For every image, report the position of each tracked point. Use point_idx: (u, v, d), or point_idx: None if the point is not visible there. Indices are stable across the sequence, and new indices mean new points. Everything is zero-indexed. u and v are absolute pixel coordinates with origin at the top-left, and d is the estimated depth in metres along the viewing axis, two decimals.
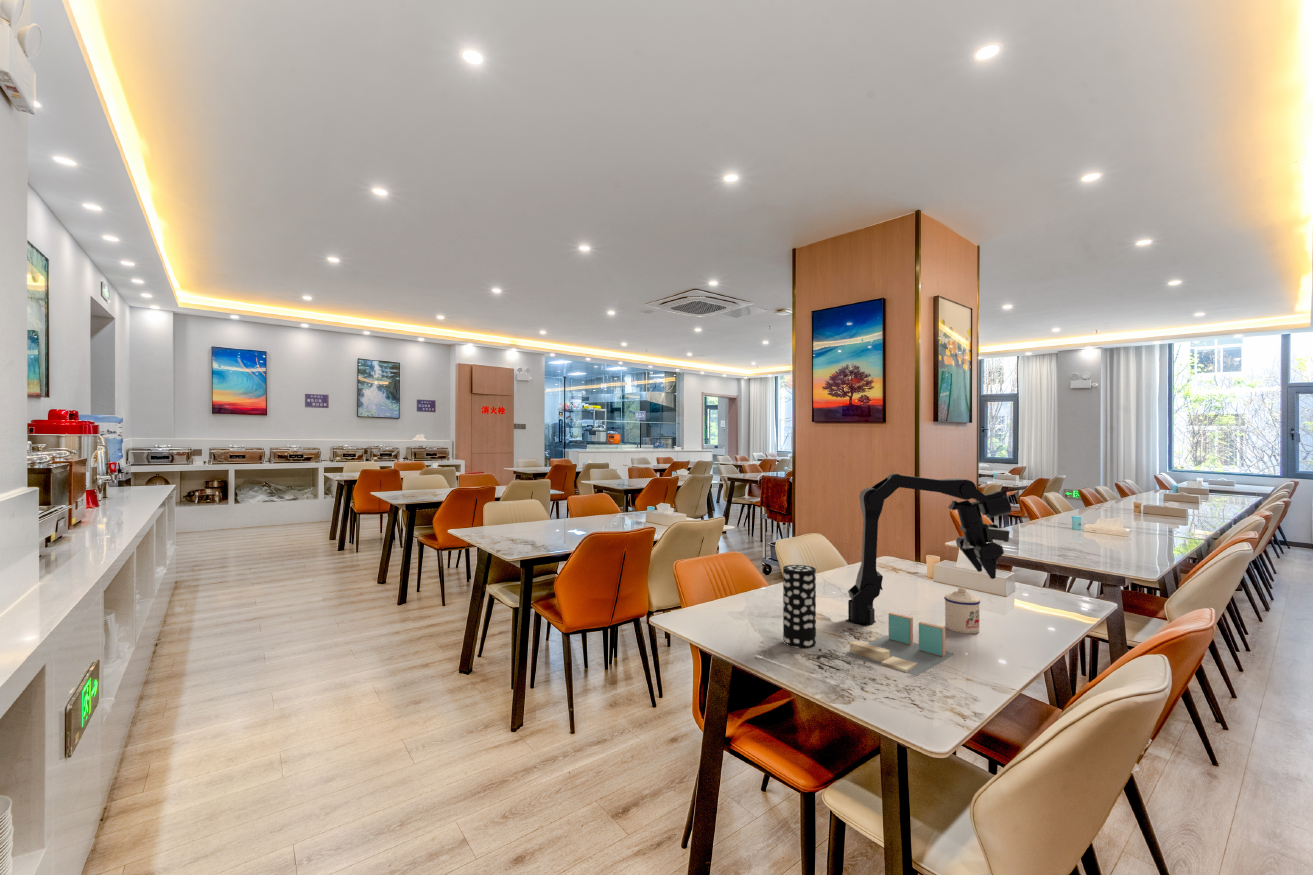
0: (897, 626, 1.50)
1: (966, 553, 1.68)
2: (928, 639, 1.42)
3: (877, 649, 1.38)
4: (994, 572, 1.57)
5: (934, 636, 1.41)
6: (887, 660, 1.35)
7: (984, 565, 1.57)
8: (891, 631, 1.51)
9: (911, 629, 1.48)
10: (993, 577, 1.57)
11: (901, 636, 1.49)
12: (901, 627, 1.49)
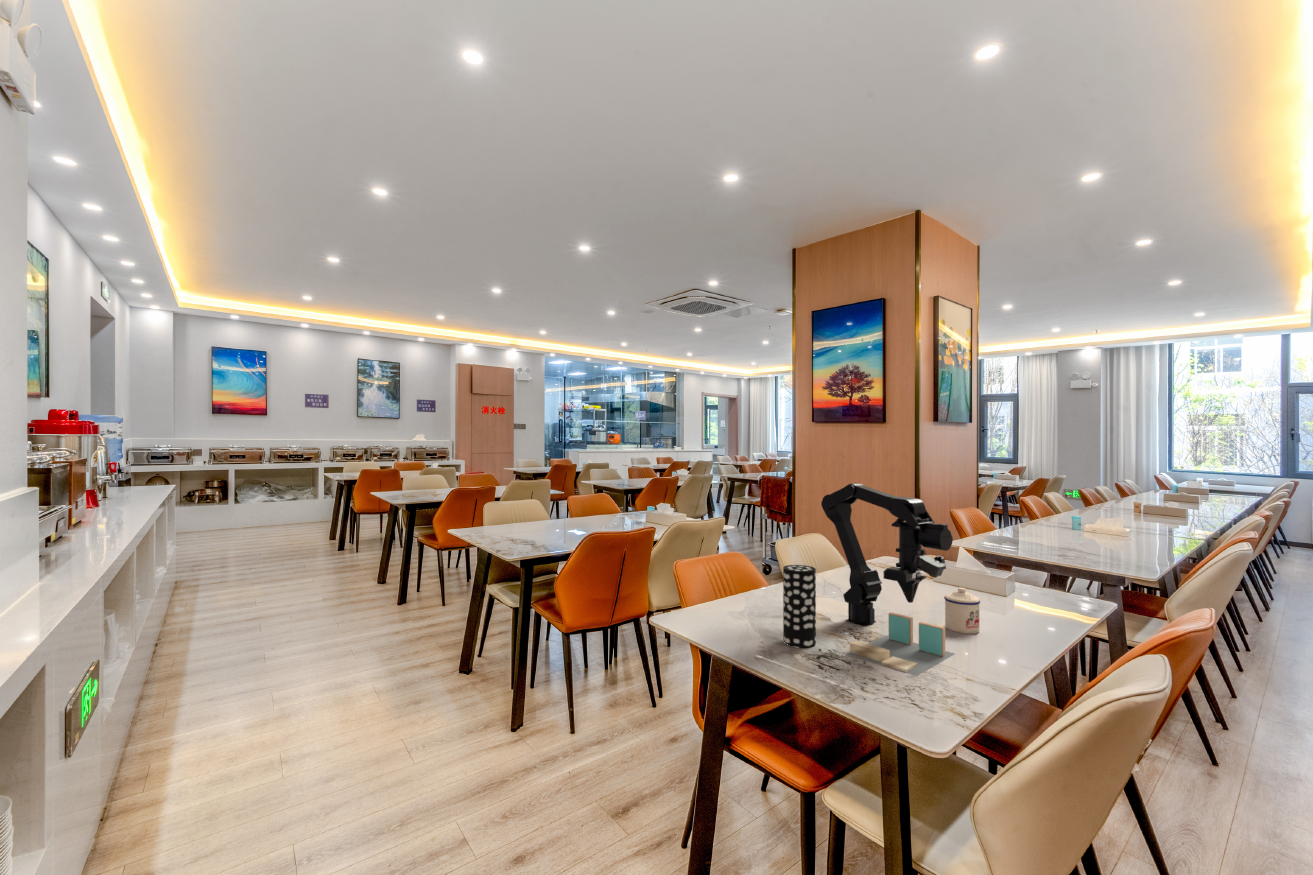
0: (897, 626, 1.50)
1: None
2: (928, 639, 1.42)
3: (877, 649, 1.38)
4: (910, 596, 1.53)
5: (934, 636, 1.41)
6: (887, 660, 1.35)
7: (900, 585, 1.54)
8: (891, 631, 1.51)
9: (911, 629, 1.48)
10: (909, 601, 1.54)
11: (901, 636, 1.49)
12: (901, 627, 1.49)
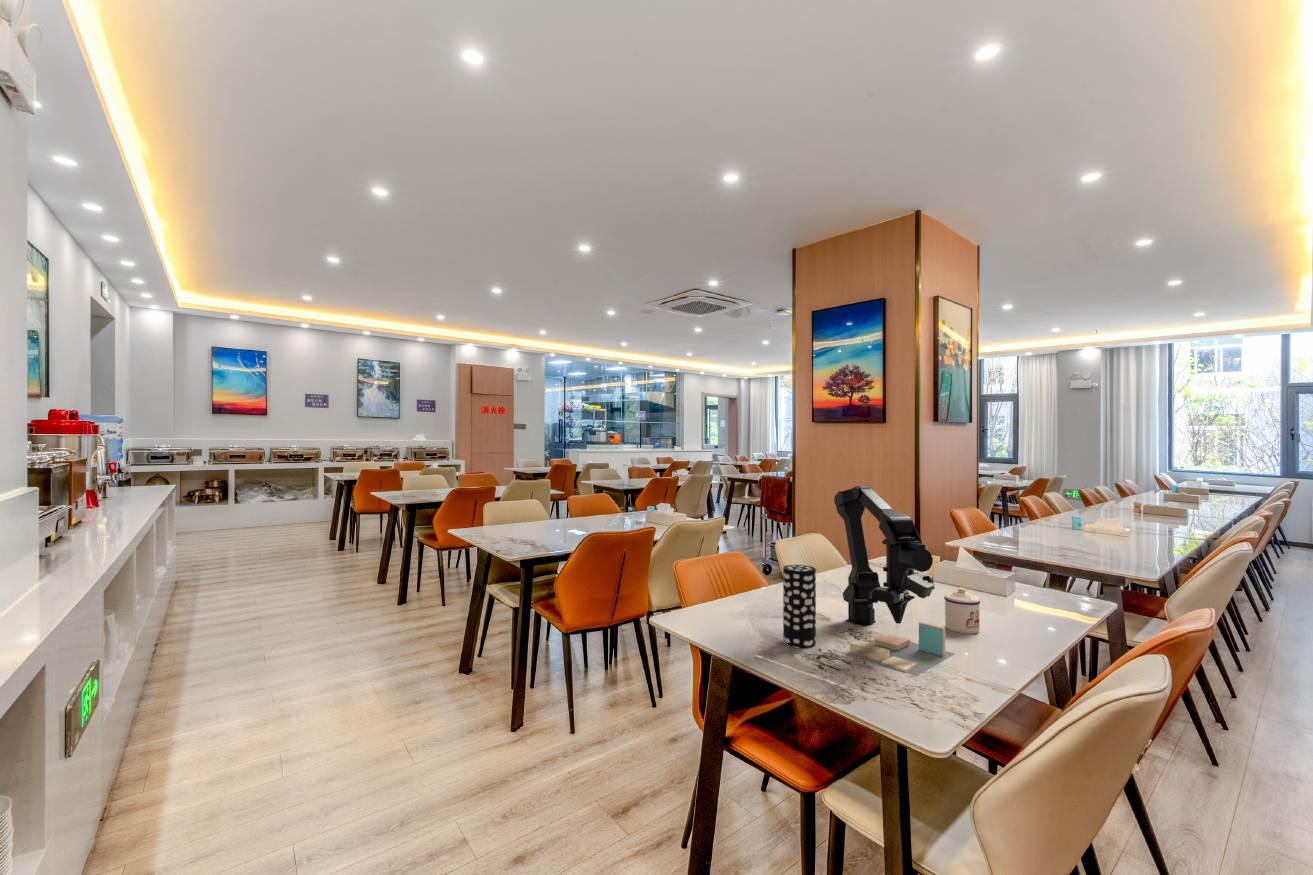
0: None
1: None
2: (928, 639, 1.42)
3: (877, 649, 1.38)
4: (898, 617, 1.48)
5: (934, 636, 1.41)
6: (887, 660, 1.35)
7: (888, 606, 1.50)
8: None
9: (902, 645, 1.45)
10: (897, 622, 1.49)
11: None
12: None
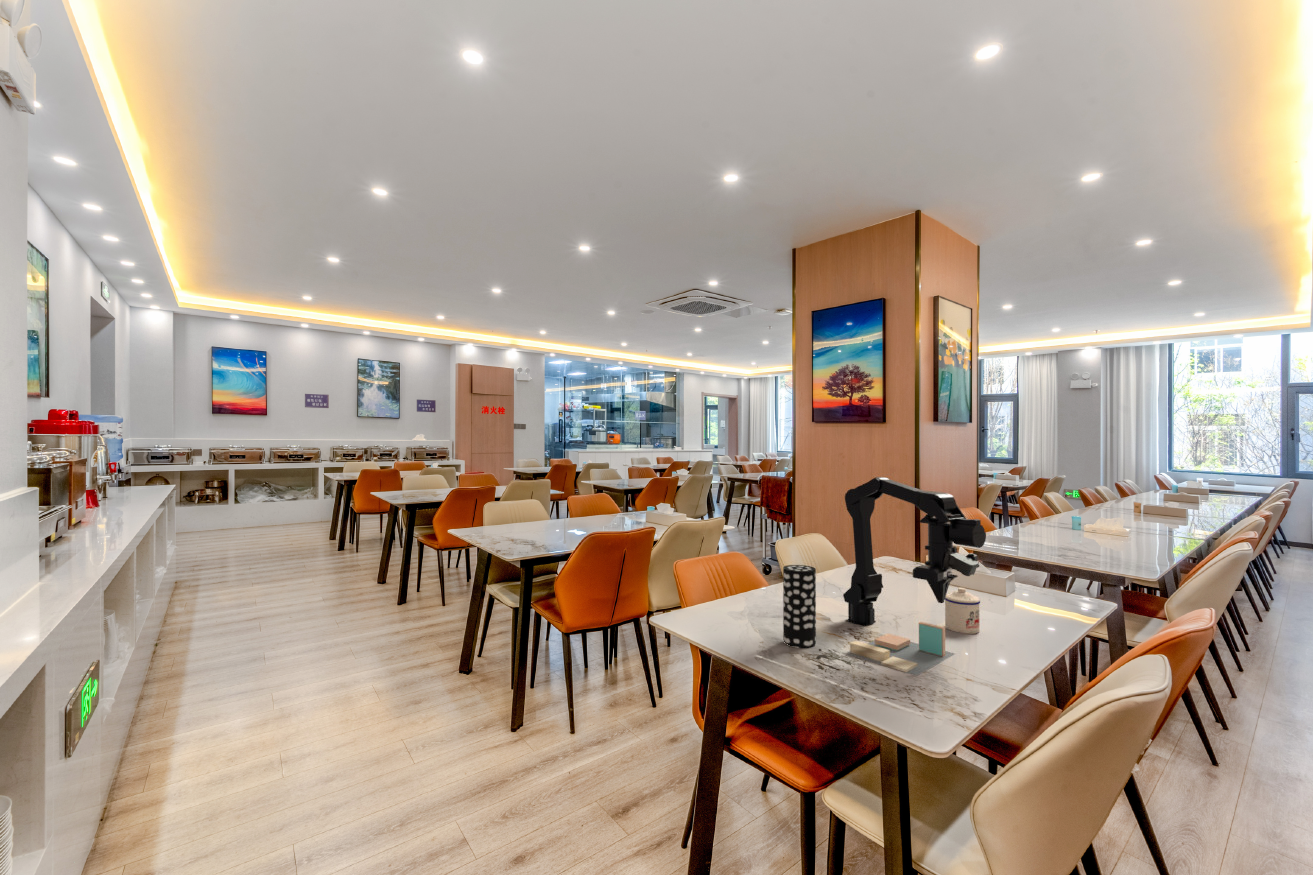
0: None
1: None
2: (928, 639, 1.42)
3: (877, 649, 1.38)
4: (941, 596, 1.45)
5: (934, 636, 1.41)
6: (887, 660, 1.35)
7: (930, 585, 1.46)
8: None
9: (902, 645, 1.45)
10: (940, 601, 1.46)
11: None
12: None
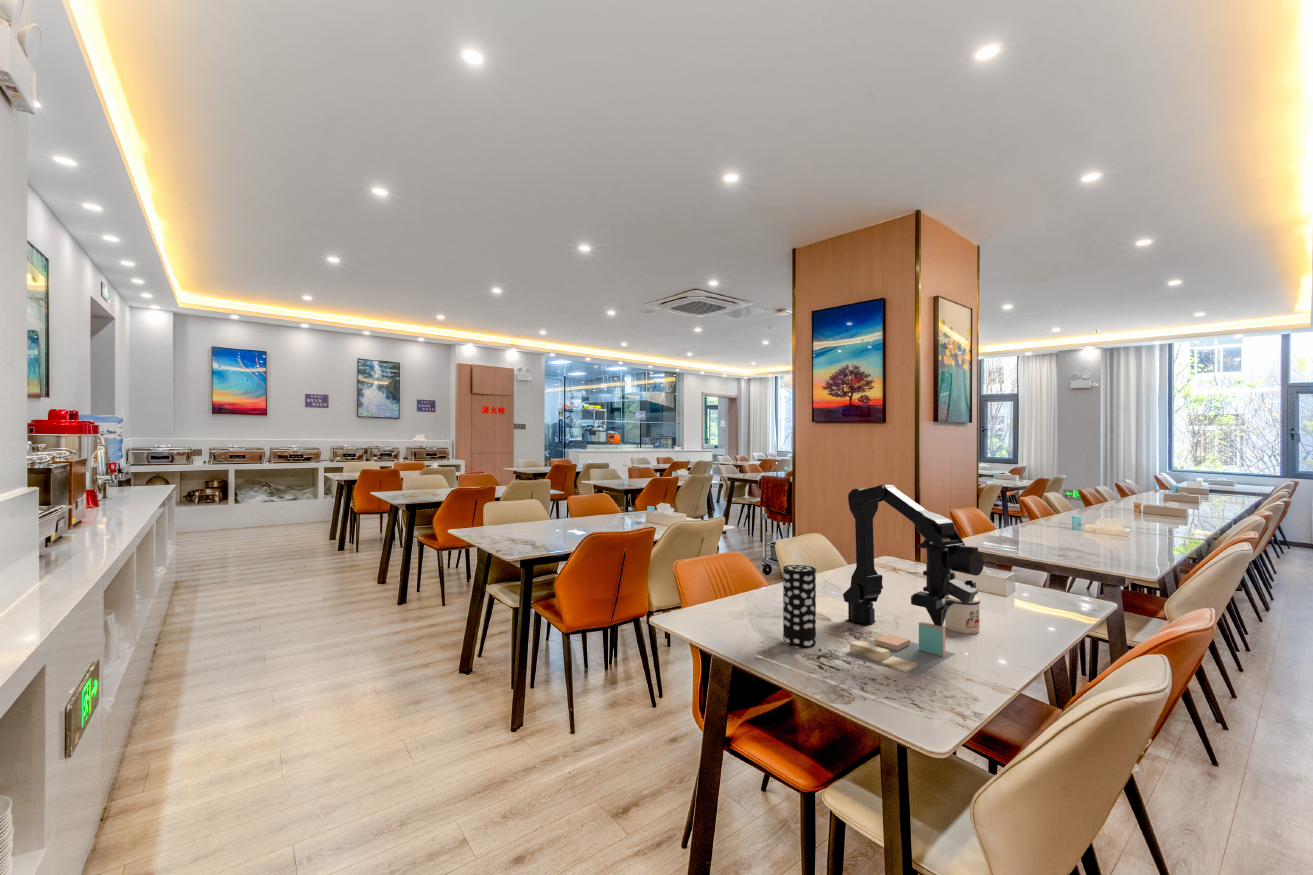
0: None
1: None
2: (928, 639, 1.42)
3: (877, 649, 1.38)
4: (939, 623, 1.44)
5: (934, 636, 1.41)
6: (887, 660, 1.35)
7: (928, 611, 1.45)
8: None
9: (902, 645, 1.45)
10: None
11: None
12: None
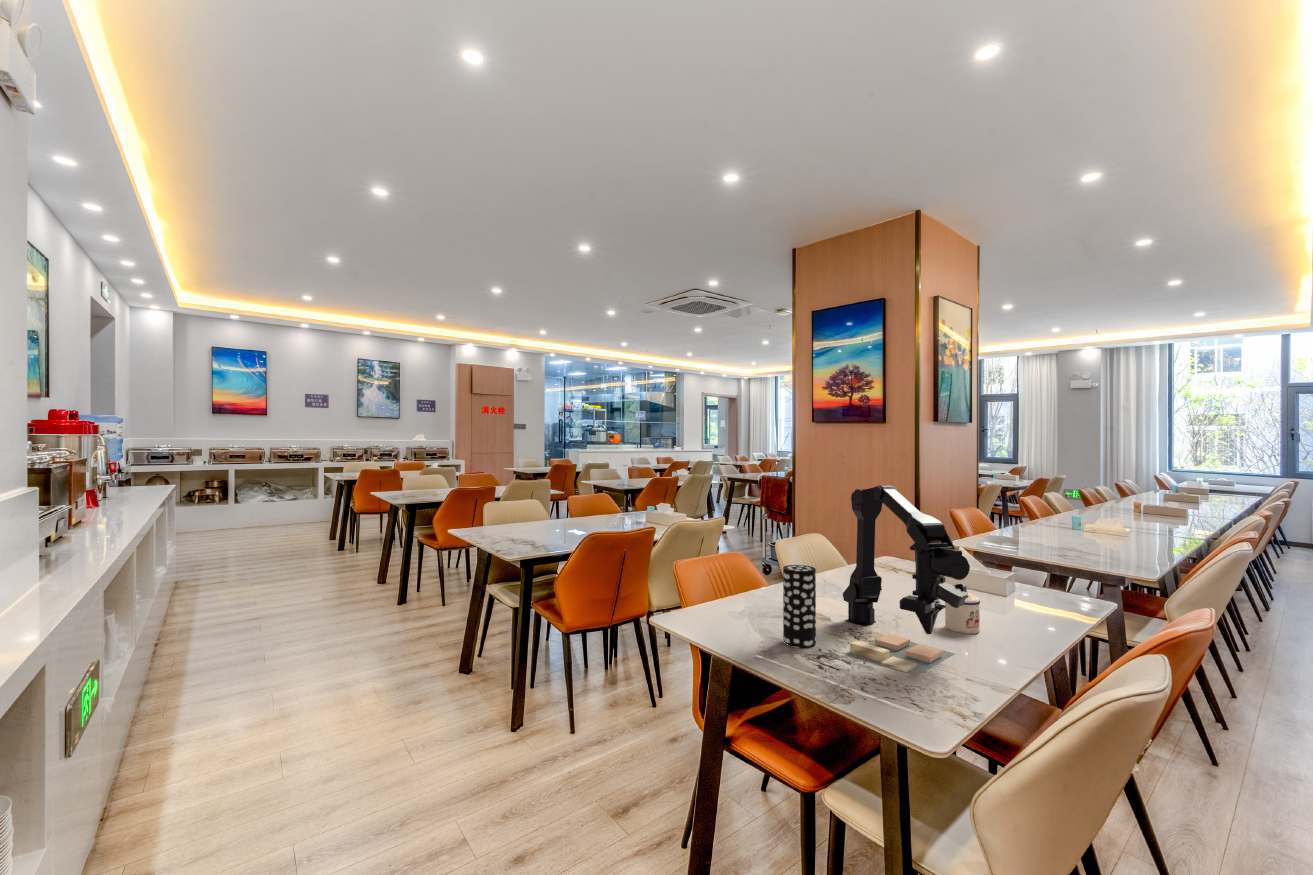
0: None
1: None
2: None
3: (877, 649, 1.38)
4: (929, 628, 1.40)
5: None
6: (887, 660, 1.35)
7: (918, 615, 1.41)
8: None
9: (902, 645, 1.45)
10: (927, 632, 1.40)
11: None
12: None
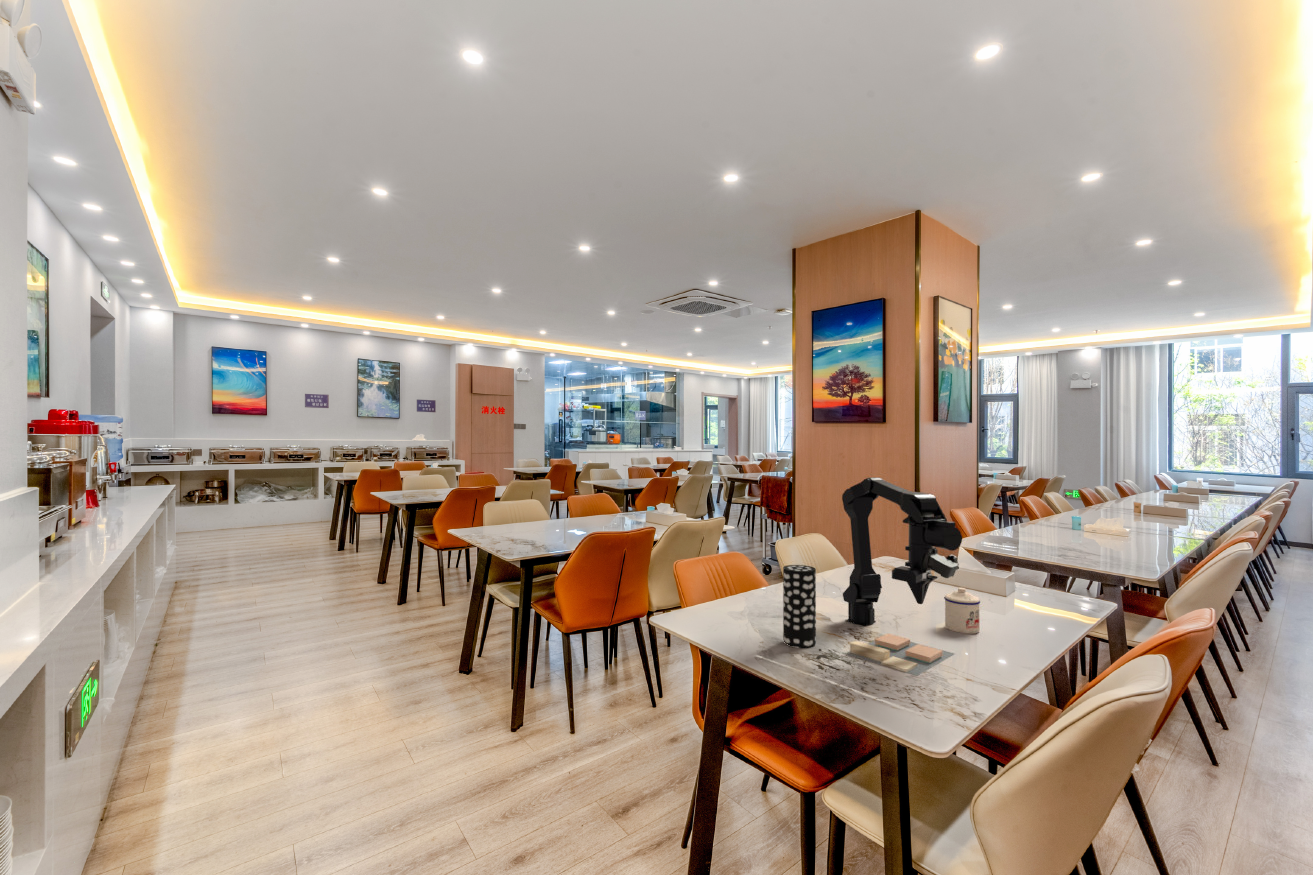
0: None
1: None
2: None
3: (877, 649, 1.38)
4: (920, 597, 1.44)
5: None
6: (887, 660, 1.35)
7: (910, 586, 1.46)
8: None
9: (902, 645, 1.45)
10: (919, 602, 1.45)
11: None
12: None
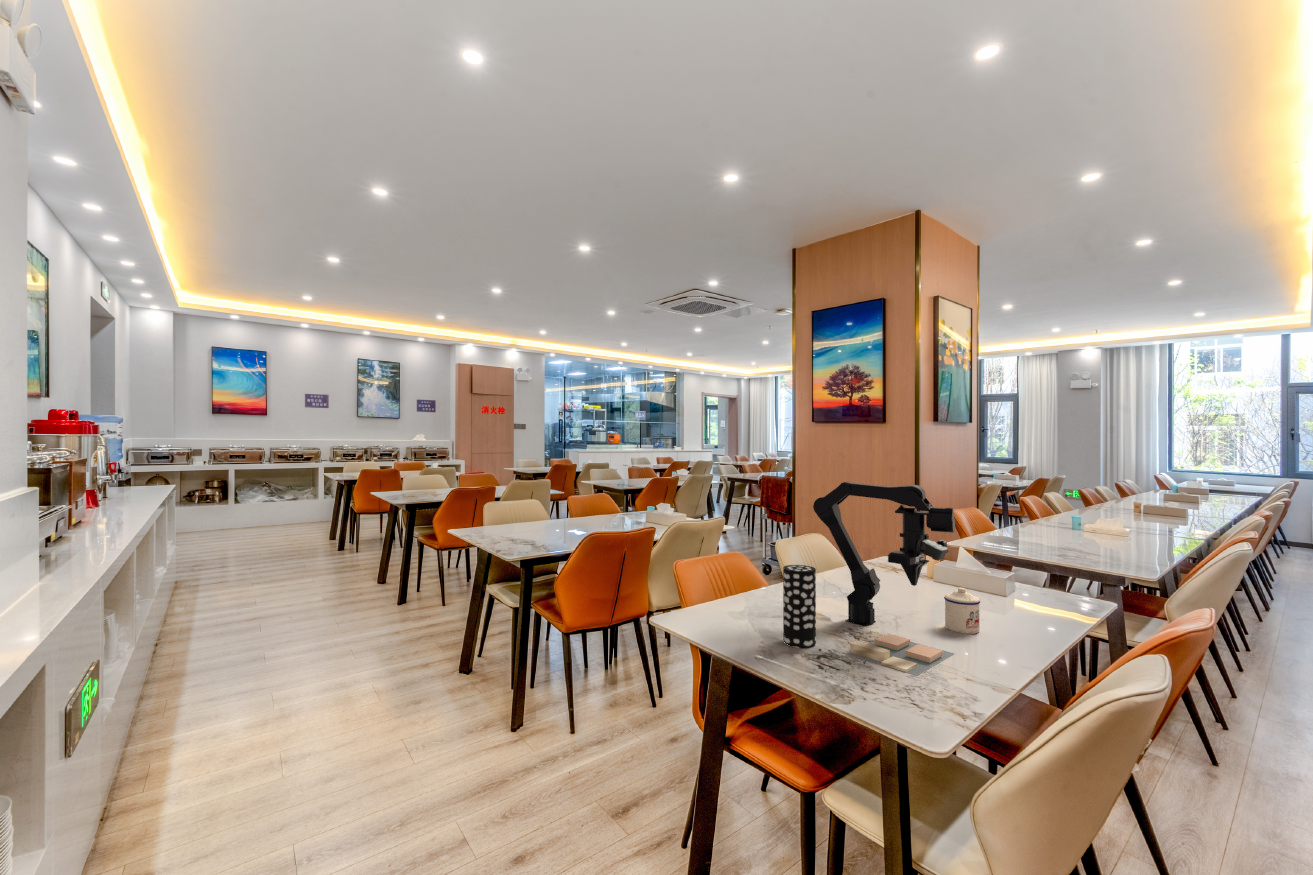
0: None
1: None
2: None
3: (877, 649, 1.38)
4: (914, 579, 1.59)
5: None
6: (887, 660, 1.35)
7: (904, 569, 1.60)
8: None
9: (902, 645, 1.45)
10: (913, 584, 1.59)
11: None
12: None
